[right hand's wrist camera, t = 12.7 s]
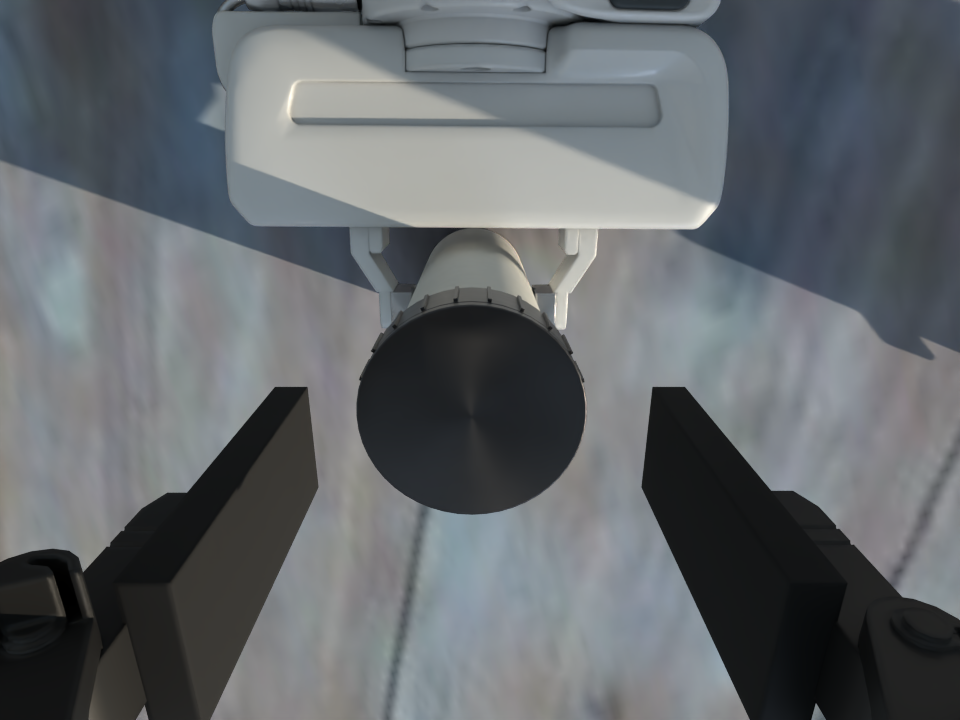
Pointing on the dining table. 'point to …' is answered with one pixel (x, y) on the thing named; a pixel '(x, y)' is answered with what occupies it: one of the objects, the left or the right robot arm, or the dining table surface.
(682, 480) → the right robot arm
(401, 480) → the lid
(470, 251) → the white cylindrical tube
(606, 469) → the dining table surface
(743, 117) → the dining table surface
